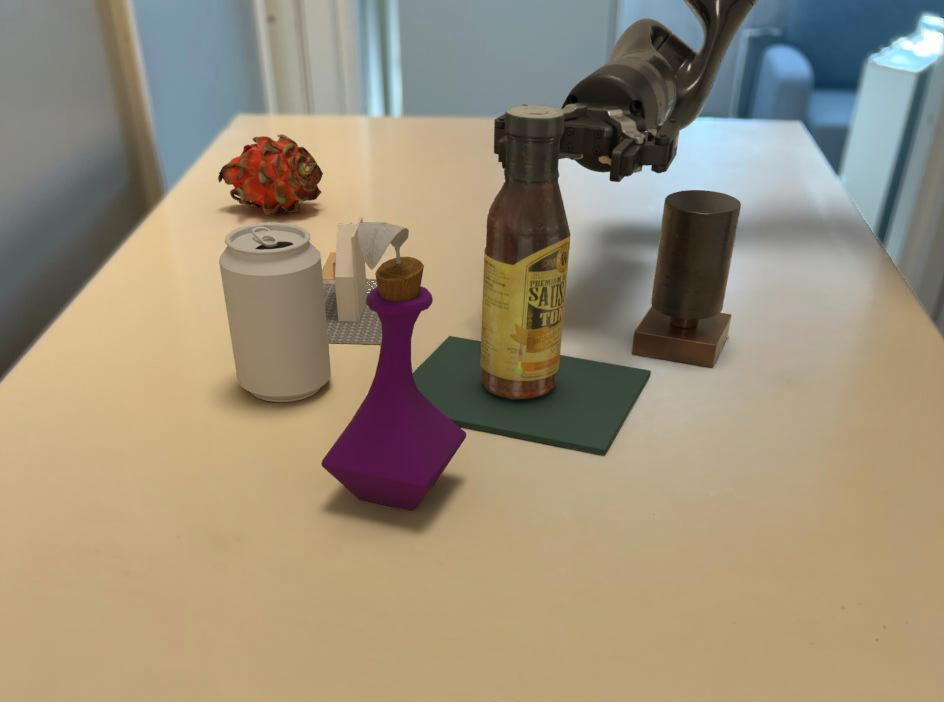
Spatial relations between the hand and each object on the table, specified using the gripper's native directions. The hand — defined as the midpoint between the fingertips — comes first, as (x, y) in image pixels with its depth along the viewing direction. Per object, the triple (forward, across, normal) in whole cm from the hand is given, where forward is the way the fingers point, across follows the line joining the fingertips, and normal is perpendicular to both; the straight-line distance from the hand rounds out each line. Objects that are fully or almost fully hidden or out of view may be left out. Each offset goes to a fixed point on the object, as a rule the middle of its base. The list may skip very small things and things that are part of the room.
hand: (560, 161), depth 74 cm
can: (+13, -18, +16) cm, 27 cm away
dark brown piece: (-7, +10, +16) cm, 20 cm away
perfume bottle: (+24, -3, +16) cm, 29 cm away
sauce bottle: (+7, 0, +15) cm, 17 cm away
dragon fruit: (-25, -41, +16) cm, 51 cm away
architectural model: (-3, -20, +16) cm, 26 cm away
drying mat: (+7, 0, +16) cm, 17 cm away
